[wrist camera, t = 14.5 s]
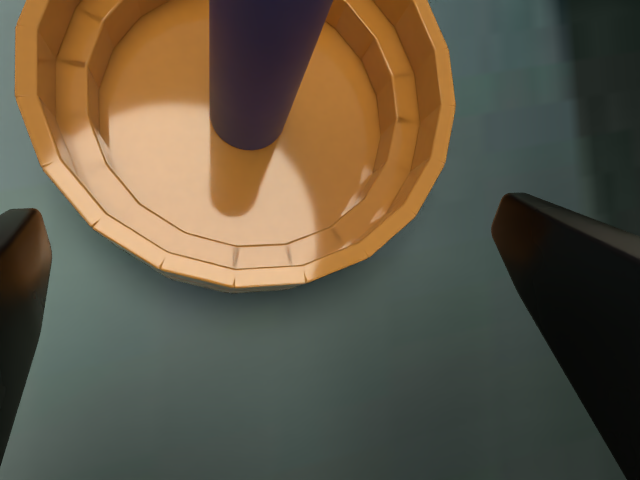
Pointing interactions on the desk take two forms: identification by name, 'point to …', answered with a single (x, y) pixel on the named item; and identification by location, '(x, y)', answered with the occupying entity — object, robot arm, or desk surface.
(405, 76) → the bowl
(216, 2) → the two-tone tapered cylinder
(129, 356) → the desk surface
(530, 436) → the desk surface
